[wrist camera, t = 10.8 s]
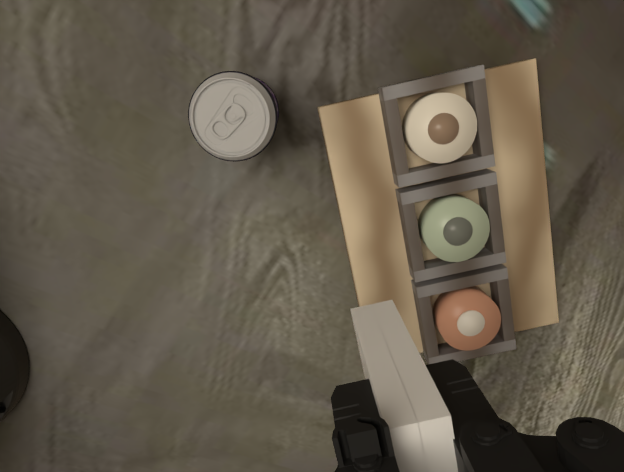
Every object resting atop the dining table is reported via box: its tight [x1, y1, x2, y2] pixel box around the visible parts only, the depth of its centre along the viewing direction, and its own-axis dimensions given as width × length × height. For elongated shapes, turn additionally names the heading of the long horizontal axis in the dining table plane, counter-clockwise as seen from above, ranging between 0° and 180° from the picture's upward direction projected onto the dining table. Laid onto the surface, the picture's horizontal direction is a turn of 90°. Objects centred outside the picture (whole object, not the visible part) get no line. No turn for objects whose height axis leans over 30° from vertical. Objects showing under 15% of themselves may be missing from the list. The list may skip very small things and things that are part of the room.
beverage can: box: [188, 71, 279, 161], centre depth 37 cm, size 6×6×12 cm
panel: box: [317, 59, 559, 364], centre depth 44 cm, size 18×25×4 cm
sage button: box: [418, 194, 490, 262], centre depth 43 cm, size 5×5×3 cm
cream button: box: [402, 93, 477, 163], centre depth 41 cm, size 5×5×3 cm
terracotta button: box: [432, 286, 501, 351], centre depth 45 cm, size 5×5×3 cm
